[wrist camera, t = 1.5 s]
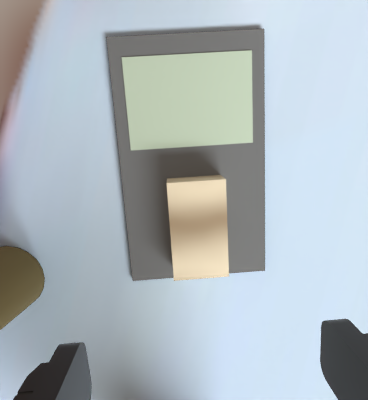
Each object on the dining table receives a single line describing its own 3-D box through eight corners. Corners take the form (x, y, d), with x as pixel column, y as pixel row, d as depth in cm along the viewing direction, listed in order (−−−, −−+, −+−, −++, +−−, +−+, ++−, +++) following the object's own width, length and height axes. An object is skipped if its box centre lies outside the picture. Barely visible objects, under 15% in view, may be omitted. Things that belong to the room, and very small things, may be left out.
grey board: (263, 268, 27) (265, 270, 27) (133, 278, 27) (132, 281, 26) (262, 30, 23) (264, 28, 22) (107, 38, 23) (106, 36, 22)
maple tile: (223, 263, 27) (229, 276, 24) (173, 267, 26) (173, 280, 24) (220, 174, 25) (225, 179, 22) (167, 178, 25) (166, 183, 22)
